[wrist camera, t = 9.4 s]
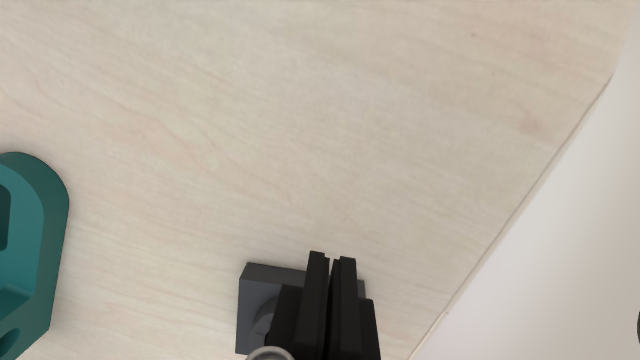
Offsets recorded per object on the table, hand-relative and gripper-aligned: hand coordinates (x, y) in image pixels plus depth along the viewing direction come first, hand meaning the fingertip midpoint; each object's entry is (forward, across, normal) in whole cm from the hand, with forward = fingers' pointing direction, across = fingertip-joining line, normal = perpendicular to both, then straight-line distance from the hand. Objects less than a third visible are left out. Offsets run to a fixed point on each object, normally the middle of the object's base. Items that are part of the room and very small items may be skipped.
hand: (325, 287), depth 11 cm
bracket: (+13, +26, +12) cm, 31 cm away
